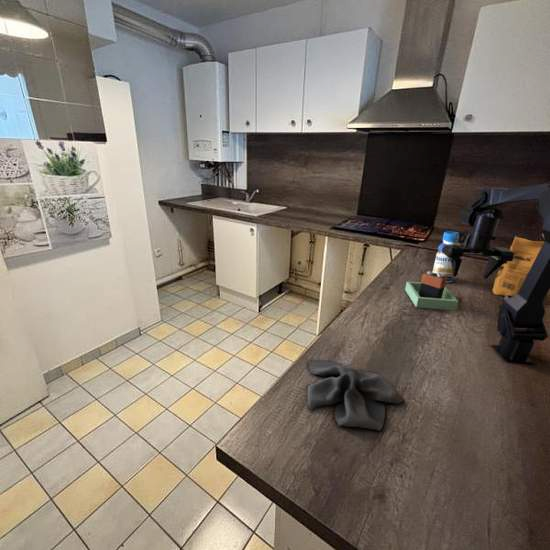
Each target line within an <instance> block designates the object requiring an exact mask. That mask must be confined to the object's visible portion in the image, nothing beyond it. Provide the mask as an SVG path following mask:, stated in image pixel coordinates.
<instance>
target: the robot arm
mask: <svg viewBox="0 0 550 550" xmlns="http://www.w3.org/2000/svg"><path fill="white" fill-rule="evenodd" d="M536 202H539V204H538V213H539V214H540V216H541V217H542V218H543V224H542V226H541V232H542V236H543V239H544V240H543V242H544V243H543V245H542V247H541V249H540V251H539V253H538V255H537V257H536V259H535V261H534V263H533V265H532V267H531V269H530V271H529V273H528V275H527V277H526V278H525V280H524V282H523V284H522V286H521V288H520V290H519V292H518V293H517V294H516V295H514V296H512V295H506V296H504V297H503V298H502V302H501V304H500V305H499V306H498V309H499V310H498V313H497V327H496V330H497V331H498V332H499V336H501V338H500V340H499V343H498V344H492V348H493V349H494V350H495V352H496V353H497V354H498V355H499V356H500V357H501V359H502V360H503V361H504V362H509V363H510V362H511V363H520V364H530V365H531V364H533V363H534V361H533V360H532V359H531V358H530V357H529V356H530V354H531V352H532V349H533V347H534V345H535V342H534V341H541V342H543V341H545V340H546V339H547V338H548V337H549V334H548V331H547V328H546V325H545V322H544V317H545V314H546V308H545V305H544V300H545V298H546V296H547V295H548V293H549V291H550V182H543V183H541V184H540V183H539V184H534V185H527V186H526V185H525V186H521V187H519V186H518V187H513V188H509V187H507V188H505V187H483V188H482V189H480V191H479V192H478V194H477V195H476V196H475V197H474V199H473V200H472V201H471V202H467V203H466V206H464V207H462V208H461V209H460V211H459V212H458V213H457V219H458V222H459V223H462V224H464V225H467V226H470V227H472V230H469V232H468V234H467V235H465V233H464V232H458V233H456V236H455V240H454V242H455V243H459V244H460V245H459V246H460V247H459V246H458V245H450V244H446V245H444V246H443V248H442V253H444V254H445V255H446V256H447V257H449V258H450V260H451V264H452V272H453V276H454V278H456V277H457V275H458V273H459V270H460V267H461V264H462V261H463V258H461V257H463V256H464V255H466V256H482V257H487V264H486V266H485V269H484V272H483V275H482V278H483V279H484V280H487V279H488V278H489V277H490V276H491V275H492V274H493V273H494V272H495V271H496V270H499V269H500V268H501V266H502V265H503V264H507V261H513V259H514V253H513V252H512V251H510V249H508V248H506V247H499V246H493V247H491V246H492V243H493V241H496V239H497V236H496V235H495V234H496V231H497V227H498V224H499V221H500V220H505V219H506V215H505V213H504V212H503V210H502V209H506V208H510V207H512V206H513V205H514V204H523V203H536Z"/></svg>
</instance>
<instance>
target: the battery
mask: <svg viewBox="0 0 550 550" xmlns="http://www.w3.org/2000/svg"><path fill="white" fill-rule="evenodd" d="M446 280H447V277H446V276H444V274H442V273H438V274H436V273H433V270H428V271H426V272H424V273H423V274H422V278H421V282H420V283H421V285H420V290H419V294H418V295H419V296H420V297H425V298H438V299H441V298H442V295H443V291H444V288H445V287H446V284H447V283H446Z"/></svg>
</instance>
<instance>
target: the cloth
mask: <svg viewBox="0 0 550 550" xmlns="http://www.w3.org/2000/svg"><path fill="white" fill-rule="evenodd" d="M308 368H309V371H310V374H312V375H316V376H321V377H326V376H329V377H327V378H325V379H323V380H320V381H317V382H313V383H311V384H309V385H308V387H307V405H308V409H309V410H310V411H311V410H314V409H315V408H317V407H320V406H332V405H335V404H336V403H337V406H336V408H335V410H334V418H335V421H336V423H337V425H338V426H340V427H353V428H354V427H355V428H361V429H370V430H375V431H379V432H380V431H382V429H383V427H384V423H385V419H386V418H385V417H386V406H385V403H390V404H400V403H402V402H403V398H402V396H401V395H400V394H399V392H398V390H397V389H396V388H395V387H394V386H393V385H392V384H391V383H390V381H388V380H387V379H386V378H385V377H384V376H383V375H381V374H379V373H374V372H370V371H363V370H362V371H359V370H358V369H356V368H353V367H351V366H347V365H344V364H342V363H339V362H333V361H320V360H319V361H317V360H316V361H314V360H313V361H312V360H311V361H310V360H309V361H308Z"/></svg>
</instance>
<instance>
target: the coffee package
mask: <svg viewBox="0 0 550 550" xmlns="http://www.w3.org/2000/svg"><path fill="white" fill-rule="evenodd" d="M543 243H544V241H542V240H541V241H540V240H539V241H538V240H535V241H534V240H530V239H527V238H523V237H519V236H515V237H514V239H513V242H512V243H511V246H510V248H509V250H510V251H512V252H513V253H514V259H513V261H507V264H503V265H502V266H500V267H499V268H498V271H497V274H496V276H495V279H494V283H493V288H492V289H491V290H492V293H493V295H497V296H504V297H505V296H506V295H512V296H514V295H516V294H517V293H518V292H519V290H520V288H521V286H522V284H523V282H524V280H525V278H526V277H527V275H528V273H529V271H530V269H531V267H532V265H533V263H534V261H535V259H536V257H537V255H538V253H539V251H540V249H541V247H542V245H543Z"/></svg>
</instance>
